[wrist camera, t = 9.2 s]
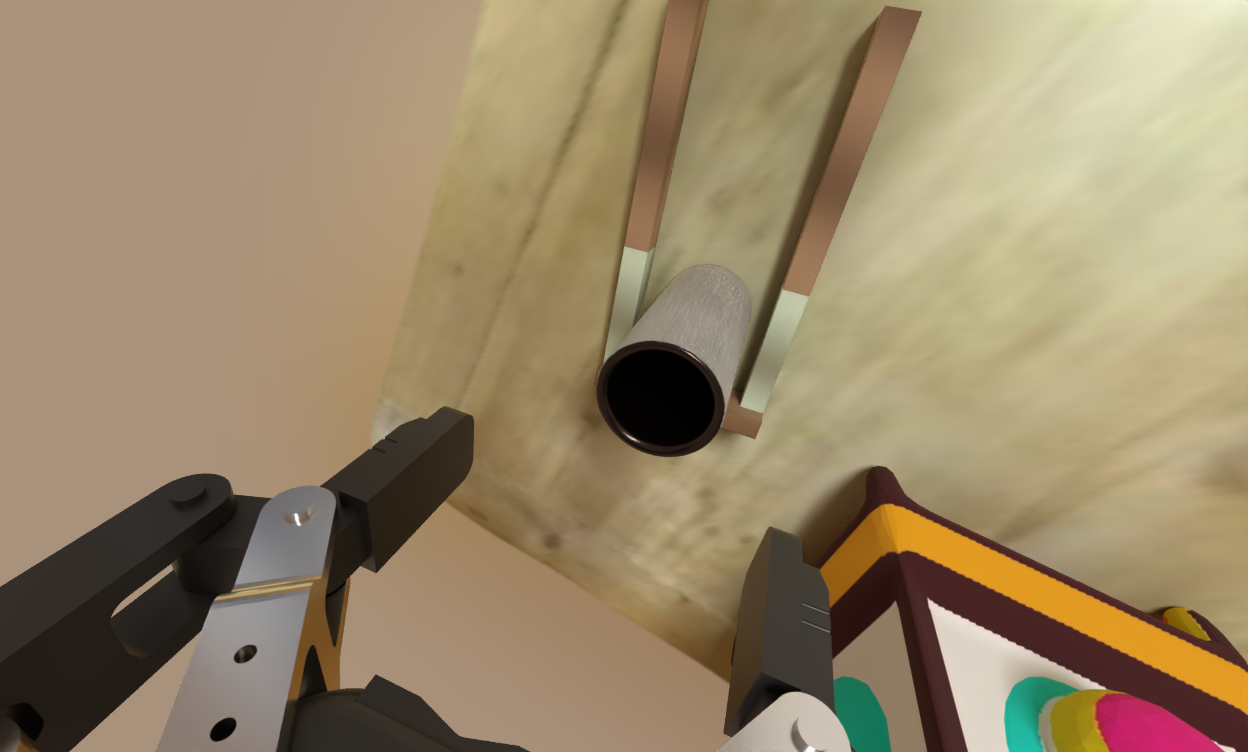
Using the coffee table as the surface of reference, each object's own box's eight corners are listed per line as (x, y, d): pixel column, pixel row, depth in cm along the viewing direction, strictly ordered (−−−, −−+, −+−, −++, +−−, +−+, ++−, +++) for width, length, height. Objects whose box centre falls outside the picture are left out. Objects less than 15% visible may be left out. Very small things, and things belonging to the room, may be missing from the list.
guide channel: (682, -18, 20) (668, -36, 17) (913, 20, 18) (928, 5, 16) (609, 366, 29) (594, 385, 26) (758, 414, 27) (755, 439, 25)
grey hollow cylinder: (679, 355, 27) (622, 466, 18) (652, 278, 25) (574, 358, 17) (761, 336, 25) (741, 449, 16) (737, 251, 23) (700, 325, 15)
